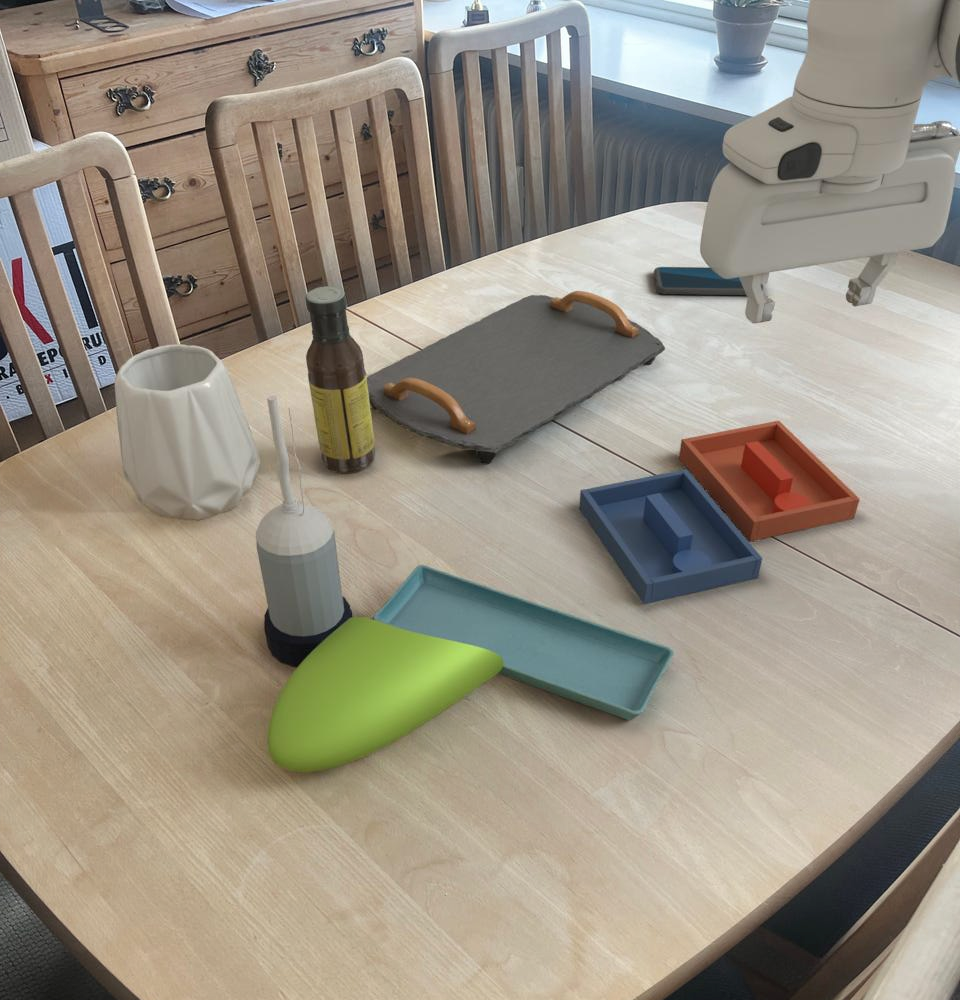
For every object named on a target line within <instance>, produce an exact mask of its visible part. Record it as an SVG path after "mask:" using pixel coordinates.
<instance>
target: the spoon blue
mask: <svg viewBox="0 0 960 1000" xmlns="http://www.w3.org/2000/svg"><path fill="white" fill-rule="evenodd" d="M643 520H644V521H645V522H646V524H647V525H648V526H649V528H650V529H651V530H652V532H653V533H654V534H655V535H656V537H657V538H658V539H659V541H660V542H661V543H662V545H663V546H664V547H665V549H666V550H667V551H668V553H669V554H670V555H671V556H672V558H673V561H672V568H671V570H672V573H673V574H674V573H679V572H683V571H688V570H692V569H697V568H701V567H705V566H710V565H712V562H711V559H710V558H709V557H708V556H707V555H706V554H704V553H703V552H700V551H697V550H691V544H692V538H693V534H692V532H691V531H690V530H689V529H688V527H687V526H686V525H685V524H684V523H683V521H682V520H681V519H680V518H679V516H678V515H677V514H676V513H675V511H674V510H673V509H672V508H671V506H670V505H669V504H668V503H667V501H666V500H665V499H664V498H663V496H662V495H661V494H660V493H657V494H652V495H647V496H646V499H645V507H644V515H643Z"/></svg>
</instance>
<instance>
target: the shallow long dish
mask: <svg viewBox="0 0 960 1000" xmlns="http://www.w3.org/2000/svg"><path fill="white" fill-rule="evenodd" d="M372 620H376V621H379V622H382V623H385V624H388V625H391V626H394V627H397V628H400V629H404V630H407V631H411V632H415V633H419V634H423V635H428V636H432V637H437V638H441V639H446V640H451V641H455V642H460V643H464V644H469V645H473V646H477V647H480V648H484V649H487V650H490V651H492V652H494V653H496V654H498V655H499V656H500V657H501V658H502V659H503V667H502V669H501V671H500V672H499V673H497V675H501V676H503V677H506V678H510V679H512V680H515V681H518V682H521V683H523V684H526V685H529V686H531V687H535V688H537V689H540V690H543V691H545V692H548V693H552V694H554V695H556V696H560V697H562V698H565V699H568V700H571V701H573V702H577V703H580V704H582V705H584V706H587V707H591V708H593V709H596V710H599V711H602V712H604V713H607V714H609V715H612V716H616V717H618V718H621V719H624V720H627V721H631V720H633V719H635V718H638V717H639V716H640V715H642V714H643V713H644V711H645V709H646V707H647V705H648V703H649V701H650V698H651V697H652V694H653V692H654V691H655V690H656V687H657V685H658V683H659V681H660V679H661V678H662V676H663V674H664V673H665V671H666V669H667V667H668V666H669V664H670V662H671V660H672V659H673V657H674V655H675V652H674V649H673V648H672V647H670V646H666V645H663V644H659V643H657V642H654V641H650V640H648V639H645V638H641V637H640V636H639V637H638V636H636V635H632V634H630V633H626V632H623V631H621V630H617V629H615V628H611V627H608V626H606V625H602V624H599V623H597V622H593V621H591V620H587V619H584V618H581V617H579V616H575V615H572V614H569V613H566V612H564V611H560V610H558V609H555V608H551V607H549V606H545V605H543V604H539V603H537V602H534V601H532V600H528V599H525V598H522V597H519V596H516V595H514V594H510V593H507V592H504V591H501V590H498V589H495V588H493V587H489V586H487V585H483V584H481V583H477V582H474V581H472V580H469V579H465V578H463V577H460V576H456V575H454V574H452V573H448V572H446V571H442V570H439V569H437V568H434V567H430V566H428V565H425V564H419V565H417V566H416V567H414V569H413V571H411V573H410V574H409V576H408V577H406V579H405V580H404V581H403V582H402V584H400V586H399V587H398V588H397V589H396V591H394V593H393V594H392V595H391V596H390V598H388V600H387V601H386V602H385V603H384V604H383V605H382V606H381V607H380V609H379V610H378V611H377V612H375V614H374V616H373V618H372Z"/></svg>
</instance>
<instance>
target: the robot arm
mask: <svg viewBox="0 0 960 1000" xmlns="http://www.w3.org/2000/svg"><path fill="white" fill-rule="evenodd" d="M806 28H807V45H806V49H805V50H806V51H805V54H804V58H803V61H802V63H801V65H800V67H799V69H798V72H797V74H796V77H795V80H794V85H793V91H792V95H791V96H789V97H786V98H785V99H783V100H782V101H780V102H778V103H777V104H775V105H773V106H771V107H769V108H767V109H766V110H764V111H762V112H760V113H757V114H756V115H754V116H752V117H749V118H748V119H745V120H743V121H741V122H739V123H737V124H735V125H733V126H731V127H730V128H728V130H726V131H725V134H724V136H723V142H722V154H723V156H724V157H725V158H726V159H727V160H728V161H729V163H728V164H726V165H725V166H724V167H723V168H722V169H720V171H719V172H718V173H717V175H716V176H715V178H714V181H713V183H712V186H711V189H710V192H709V196H708V200H707V203H706V208H705V213H704V218H703V222H702V223H703V224H702V230H701V235H700V241H699V242H700V244H699V252H700V256H701V258H702V260H703V261H704V262H705V264H706V265H707V267H709V268H711V269H712V270H713V271H714V272H716V273H717V274H718V275H719V276H721V277H722V278H725V279H731V278H737V277H739V279H740V281H741V283H742V286H743V288H744V290H745V293H746V295H745V296H746V297H747V300H746V304H745V310H744V311H745V312H744V313H745V318H746V319H747V320H748V321H749V322H750V323H751V324H753V325H754V324H760V323H761V324H762V323H767V322H770V321H771V320H772V319H773V314H772V312H773V311H774V309H775V304H776V302H775V301H774V300H773V299H772V298H771V297H770V298H769V296H768V295H767V294H766V293H764V291H762V289H761V286H760V284H761V285H763V286H764V285H767V284H768V282H769V278H770V277H769V276H770V273H775V272H781V271H787V270H793V269H800V268H801V269H802V268H806V267H813V266H819V265H825V264H831V263H838V262H844V261H853V260H859V259H865V258H869V260H867V262H866V264H865V265H864V267H863V269H862V271H861V272H860V274H859V275H858V277H854V278H850V279H849V280H848V285H847V288H848V289H847V291H846V293H845V300H846V301H847V302H848V303H849V304H851V305H852V306H853V307H855V308H856V307H860V306H861V307H862V306H866V305H872V303H873V302H874V298H875V295H876V290H877V287H878V286H879V285H880V284H881V283H882V282H883V280H884V279H885V277H886V276H887V274H889V273H890V271H891V270H892V269H893V268H894V266H895V265H896V262H897V259H898V255H899V253H903V252H909V251H915V250H921V249H927V248H931V247H933V246H934V245H935V244H936V243H937V242H938V240H940V238H941V237H942V235H943V234H945V233H944V232H945V231H946V227H947V224H948V219H949V216H950V215H949V214H950V210H951V205H952V199H953V194H954V187H955V182H956V181H955V180H956V165H957V162H958V158H959V156H960V131H959V130H958V128H956V126H953V125H952V123H951V122H950V121H948V120H938V121H937V120H935V121H933V122H932V123H916V120H917V116H918V115H917V114H918V112H919V108H920V104H921V100H922V96H923V92H924V88H925V86H927V84H928V83H929V82H930V81H932V80H934V79H938V78H939V79H951V78H952V79H953V80H954V81H955V82H956V83H957V84H958V85H959V86H960V0H809V3H808V9H807V14H806Z"/></svg>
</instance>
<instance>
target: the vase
mask: <svg viewBox="0 0 960 1000" xmlns="http://www.w3.org/2000/svg"><path fill="white" fill-rule="evenodd" d="M237 393H238V392H237V391H236V388H235V385H234V383H233V380H232V378H231V375H230V373H229V371H228V369H227V367H226V365H225V363H224V362H223V361H222V359H220V358H219V356H217V355H216V354H215V353H214V352H213V350H210V349H208V348H206V347H202V346H199V345H192V344H191V345H187V344H185V343H182V344H166V345H160V346H157V347H154V348H150V349H149V348H147V349H146V350H143V351H141V352H139V353H137V354H135V355H133V356H131V357H130V358H128V359H127V360H126V361H125V363H124V364H122V365H121V366H120V368H119V369H118V371H117V373H116V375H115V378H114V396H115V407H116V408H115V409H116V410H115V411H116V419H117V421H116V422H117V429H118V431H117V432H118V439H119V448H120V456H121V464H122V470H123V475H124V478H125V480H126V482H127V483H128V484H129V485H130V486H131V488H132V490H133V492H134V494H135V496H136V497H137V500H138V501H139V502H141V503H142V504H143V505H144V507H146V508H147V509H148V510H149V511H150V512H151V513H153V515H156V516H158V517H161V518H162V517H163V518H167V519H168V518H169V519H177V520H184V521H192V522H193V521H194V522H200V521H203V520H206V519H209V518H212V517H214V516H217V515H220V514H223V513H225V512H228V511H231V510H233V509H235V508H237V507H238V506H239V505H240V503H241V500H242V498H243V497H244V496H246V494H248V493H249V491H250V490H251V488H252V487H253V484H254V481H255V479H256V478H257V474H258V471H259V468H260V462H261V461H260V457H259V453H258V450H257V447H256V443H255V440H254V436H253V433H252V430H251V428H250V425H249V422H248V420H247V418H246V415H245V412H244V409H243V407H242V404H241V402H240V398H239V397H238V394H237Z"/></svg>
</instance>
